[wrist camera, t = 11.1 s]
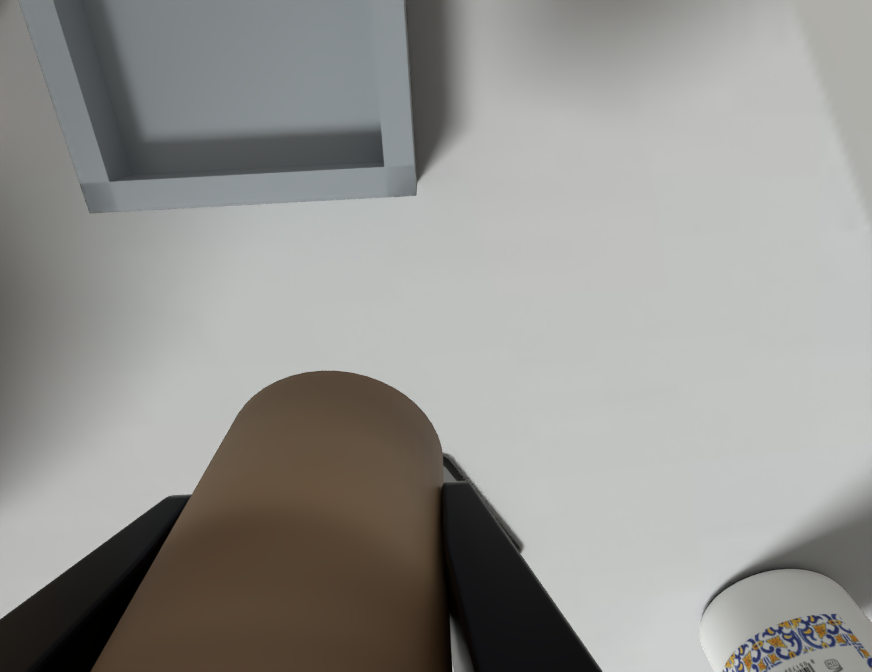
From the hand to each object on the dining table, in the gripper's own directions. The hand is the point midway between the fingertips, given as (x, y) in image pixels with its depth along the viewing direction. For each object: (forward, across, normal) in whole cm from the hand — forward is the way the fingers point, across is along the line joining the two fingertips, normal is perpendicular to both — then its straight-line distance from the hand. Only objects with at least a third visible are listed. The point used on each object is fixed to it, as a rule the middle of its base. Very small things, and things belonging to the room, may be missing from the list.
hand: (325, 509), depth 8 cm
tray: (+11, +3, -8) cm, 14 cm away
